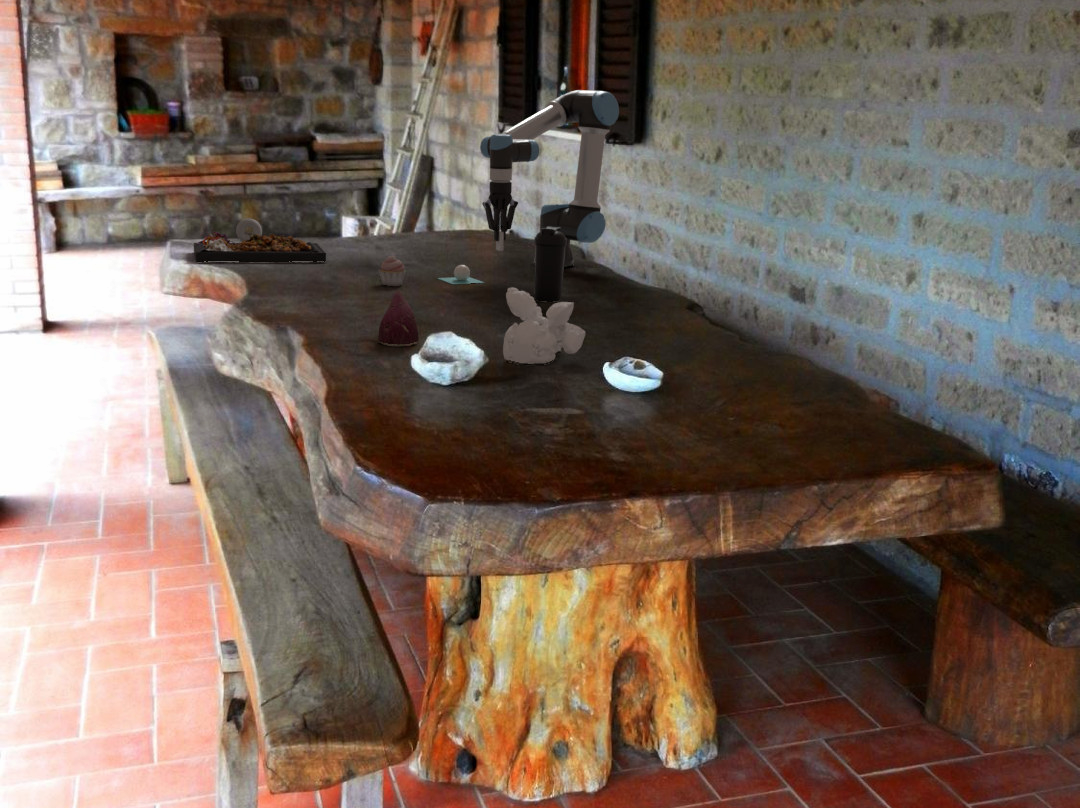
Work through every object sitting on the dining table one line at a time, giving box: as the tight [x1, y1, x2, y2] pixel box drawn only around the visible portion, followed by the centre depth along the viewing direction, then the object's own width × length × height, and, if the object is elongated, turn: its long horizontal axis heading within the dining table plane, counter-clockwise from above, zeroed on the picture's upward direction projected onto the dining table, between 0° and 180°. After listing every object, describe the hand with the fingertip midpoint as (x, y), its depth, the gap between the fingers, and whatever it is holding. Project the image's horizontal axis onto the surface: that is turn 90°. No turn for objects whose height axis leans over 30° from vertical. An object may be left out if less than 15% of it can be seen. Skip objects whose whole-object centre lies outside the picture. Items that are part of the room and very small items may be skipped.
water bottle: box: [533, 227, 567, 302], centre depth 360 cm, size 10×10×23 cm
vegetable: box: [377, 289, 420, 345], centre depth 293 cm, size 10×10×15 cm
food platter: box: [193, 227, 327, 263], centre depth 417 cm, size 45×25×10 cm, turn 108°
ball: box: [453, 264, 471, 281], centre depth 390 cm, size 6×6×6 cm
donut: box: [235, 218, 263, 242], centre depth 449 cm, size 10×4×10 cm, turn 104°
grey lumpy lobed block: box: [502, 286, 586, 364], centre depth 283 cm, size 19×20×20 cm
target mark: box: [436, 276, 485, 286], centre depth 390 cm, size 12×12×1 cm
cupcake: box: [378, 254, 407, 287], centre depth 375 cm, size 9×9×10 cm
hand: (499, 250), depth 395 cm, fingers closed
